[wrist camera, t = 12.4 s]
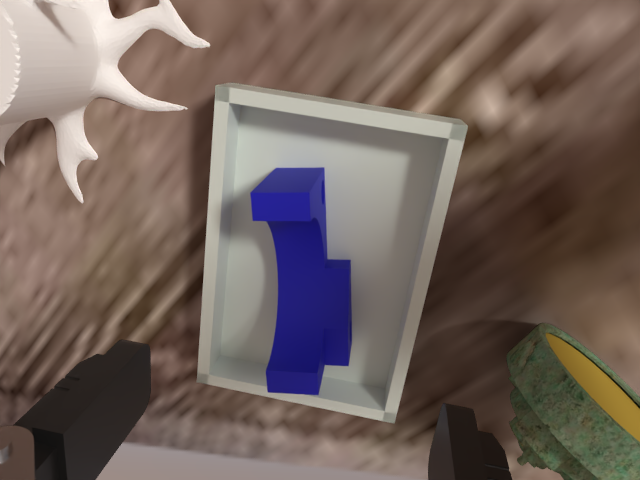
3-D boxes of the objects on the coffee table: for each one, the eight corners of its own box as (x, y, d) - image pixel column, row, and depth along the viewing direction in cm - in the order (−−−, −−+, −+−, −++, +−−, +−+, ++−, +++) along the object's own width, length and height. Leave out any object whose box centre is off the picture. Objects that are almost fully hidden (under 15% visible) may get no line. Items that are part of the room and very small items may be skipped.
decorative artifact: (636, 385, 33) (732, 514, 24) (556, 447, 35) (615, 585, 26) (521, 298, 32) (574, 397, 23) (447, 368, 34) (468, 483, 25)
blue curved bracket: (352, 340, 34) (344, 396, 28) (287, 338, 35) (267, 392, 29) (349, 167, 30) (339, 192, 24) (276, 167, 30) (250, 192, 25)
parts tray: (460, 119, 29) (467, 126, 26) (394, 394, 36) (394, 423, 33) (232, 82, 30) (215, 85, 27) (211, 357, 37) (196, 382, 34)
